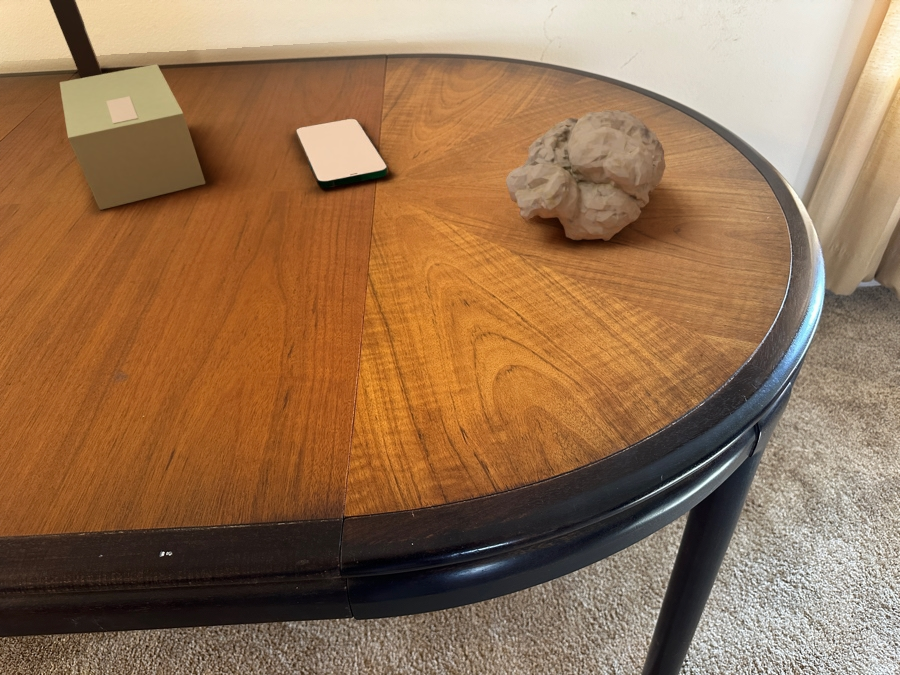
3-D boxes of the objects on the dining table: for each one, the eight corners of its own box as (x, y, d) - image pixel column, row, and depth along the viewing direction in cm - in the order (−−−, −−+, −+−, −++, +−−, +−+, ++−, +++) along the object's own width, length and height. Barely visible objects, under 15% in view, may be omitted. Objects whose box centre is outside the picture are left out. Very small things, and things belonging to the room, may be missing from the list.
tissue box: (87, 147, 81) (58, 81, 75) (178, 127, 84) (156, 63, 79) (100, 210, 68) (67, 136, 63) (205, 183, 72) (183, 112, 66)
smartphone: (295, 135, 81) (319, 191, 69) (293, 128, 80) (317, 183, 68) (357, 124, 82) (391, 176, 71) (356, 117, 82) (390, 168, 70)
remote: (82, 81, 99) (44, -13, 91) (80, 72, 103) (43, -20, 94) (104, 77, 100) (68, -17, 92) (101, 68, 104) (67, -23, 95)
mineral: (470, 187, 64) (496, 117, 55) (601, 131, 70) (644, 59, 61) (540, 288, 61) (580, 231, 52) (671, 220, 67) (727, 159, 58)
